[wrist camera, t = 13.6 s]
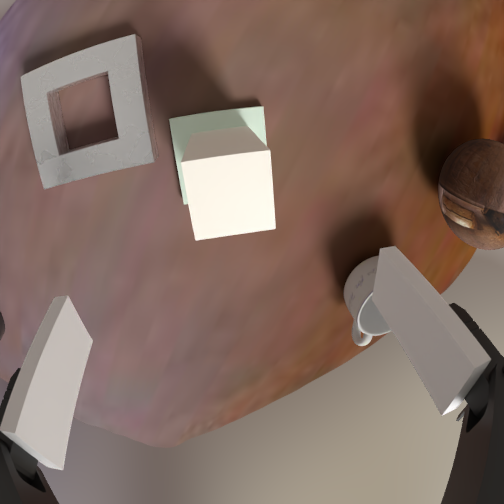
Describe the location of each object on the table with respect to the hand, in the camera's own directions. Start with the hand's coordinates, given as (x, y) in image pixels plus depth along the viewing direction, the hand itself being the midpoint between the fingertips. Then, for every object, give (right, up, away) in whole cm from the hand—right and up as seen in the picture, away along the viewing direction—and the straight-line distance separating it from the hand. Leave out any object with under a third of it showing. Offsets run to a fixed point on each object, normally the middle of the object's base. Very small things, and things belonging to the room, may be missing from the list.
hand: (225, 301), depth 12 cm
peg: (-2, +12, +20) cm, 24 cm away
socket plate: (-17, +18, +16) cm, 29 cm away
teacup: (+18, -3, +34) cm, 39 cm away
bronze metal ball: (+32, +14, +26) cm, 43 cm away
